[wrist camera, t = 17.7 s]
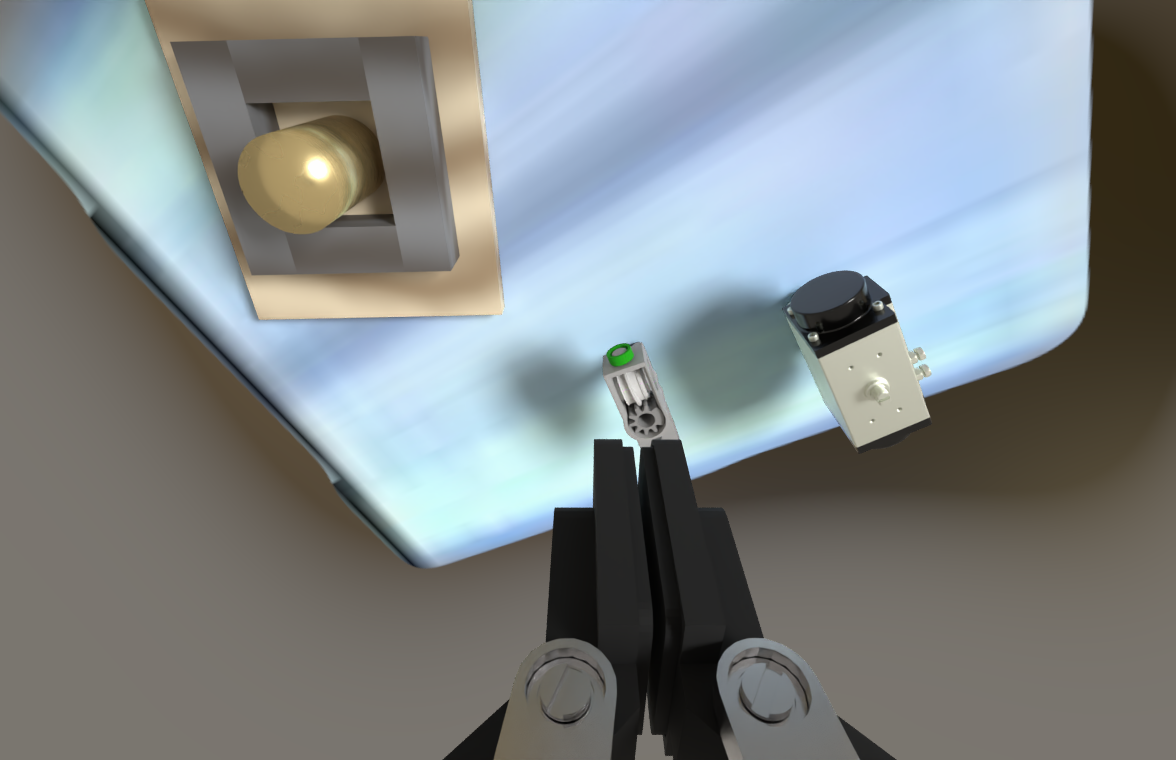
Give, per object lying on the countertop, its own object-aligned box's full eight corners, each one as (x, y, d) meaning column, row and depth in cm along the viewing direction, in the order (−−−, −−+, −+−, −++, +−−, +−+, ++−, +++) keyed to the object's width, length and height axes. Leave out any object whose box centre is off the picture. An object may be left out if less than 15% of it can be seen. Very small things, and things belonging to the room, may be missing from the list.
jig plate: (143, -52, 31) (80, -66, 27) (465, -60, 31) (448, -74, 27) (269, 311, 42) (237, 338, 38) (504, 306, 42) (496, 332, 38)
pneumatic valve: (808, 383, 46) (873, 480, 36) (755, 266, 41) (812, 341, 30) (874, 352, 44) (962, 444, 34) (828, 228, 39) (914, 292, 29)
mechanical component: (638, 405, 47) (650, 485, 38) (593, 301, 42) (596, 366, 33) (671, 394, 46) (691, 473, 38) (630, 287, 41) (642, 350, 33)
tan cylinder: (297, 113, 34) (224, 131, 27) (379, 116, 34) (327, 134, 27) (315, 197, 36) (253, 232, 30) (391, 199, 37) (347, 235, 30)
